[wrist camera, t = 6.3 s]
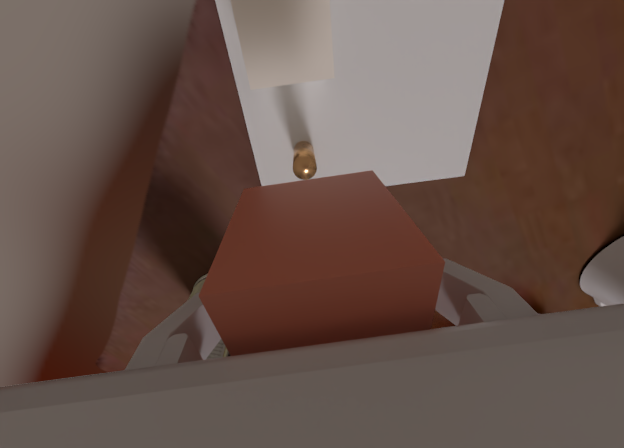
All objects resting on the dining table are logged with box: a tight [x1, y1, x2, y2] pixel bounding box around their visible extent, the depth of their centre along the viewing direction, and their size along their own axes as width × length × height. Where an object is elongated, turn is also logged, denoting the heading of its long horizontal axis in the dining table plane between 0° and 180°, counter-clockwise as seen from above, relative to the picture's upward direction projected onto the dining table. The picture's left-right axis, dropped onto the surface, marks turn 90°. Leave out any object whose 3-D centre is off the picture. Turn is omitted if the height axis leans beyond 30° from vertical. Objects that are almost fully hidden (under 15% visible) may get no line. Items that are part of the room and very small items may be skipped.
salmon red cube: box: [199, 170, 445, 356], centre depth 10 cm, size 6×6×6 cm
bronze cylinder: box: [293, 141, 317, 180], centre depth 23 cm, size 2×2×5 cm
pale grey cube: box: [230, 0, 334, 90], centre depth 17 cm, size 6×6×6 cm
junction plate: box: [215, 0, 504, 186], centre depth 23 cm, size 22×18×1 cm
